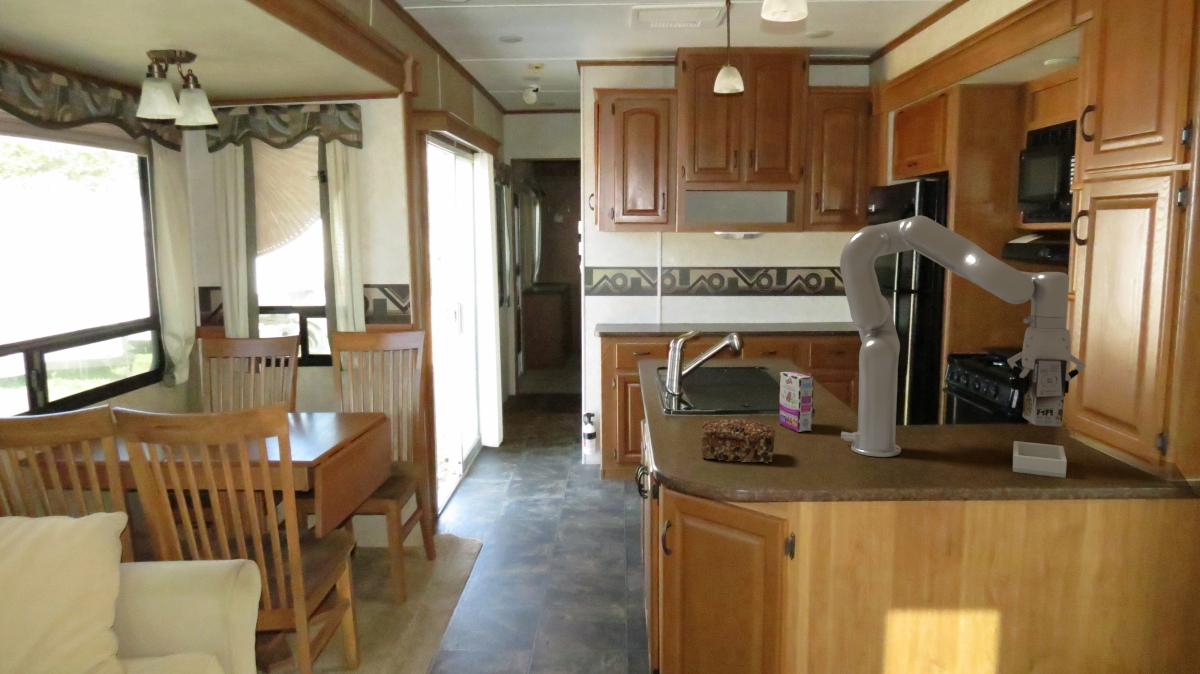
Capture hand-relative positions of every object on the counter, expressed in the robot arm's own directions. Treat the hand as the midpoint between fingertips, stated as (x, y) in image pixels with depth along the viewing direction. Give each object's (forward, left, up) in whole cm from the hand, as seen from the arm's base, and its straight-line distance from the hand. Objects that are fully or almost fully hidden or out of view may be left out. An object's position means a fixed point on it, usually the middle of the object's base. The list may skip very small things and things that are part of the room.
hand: (1043, 394), depth 186 cm
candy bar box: (-63, +11, -19) cm, 67 cm away
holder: (0, 0, -18) cm, 18 cm away
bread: (-70, -24, -19) cm, 76 cm away
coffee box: (0, 0, -7) cm, 7 cm away
